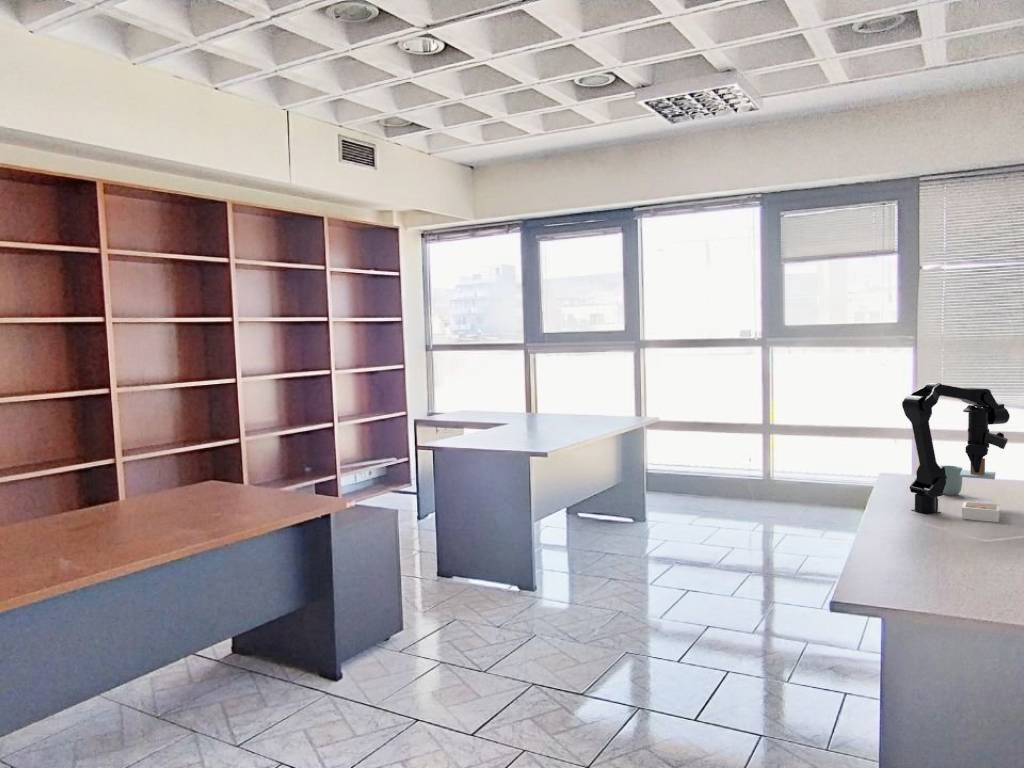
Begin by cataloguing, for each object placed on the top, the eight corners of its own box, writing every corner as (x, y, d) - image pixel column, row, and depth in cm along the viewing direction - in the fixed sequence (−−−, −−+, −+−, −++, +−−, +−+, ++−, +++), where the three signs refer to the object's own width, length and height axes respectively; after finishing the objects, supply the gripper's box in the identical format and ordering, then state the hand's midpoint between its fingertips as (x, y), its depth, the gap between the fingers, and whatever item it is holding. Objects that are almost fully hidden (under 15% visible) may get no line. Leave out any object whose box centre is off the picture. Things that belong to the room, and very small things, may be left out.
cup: (955, 492, 290) (956, 465, 289) (966, 496, 282) (966, 469, 281) (933, 492, 290) (934, 465, 290) (943, 496, 283) (943, 469, 282)
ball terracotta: (981, 516, 250) (981, 507, 250) (973, 514, 253) (973, 505, 252) (988, 516, 251) (989, 506, 250) (980, 514, 253) (981, 505, 253)
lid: (994, 479, 257) (994, 462, 256) (959, 477, 262) (959, 459, 262) (995, 474, 265) (995, 457, 265) (961, 472, 271) (961, 455, 270)
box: (998, 523, 243) (999, 510, 243) (961, 519, 249) (962, 507, 248) (999, 516, 251) (999, 504, 251) (963, 513, 257) (963, 501, 257)
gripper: (1005, 429, 250) (1004, 478, 251) (1006, 423, 266) (1006, 468, 267) (965, 428, 256) (965, 475, 257) (969, 422, 272) (968, 466, 273)
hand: (977, 471), depth 264 cm, fingers closed on lid, 4 cm apart
